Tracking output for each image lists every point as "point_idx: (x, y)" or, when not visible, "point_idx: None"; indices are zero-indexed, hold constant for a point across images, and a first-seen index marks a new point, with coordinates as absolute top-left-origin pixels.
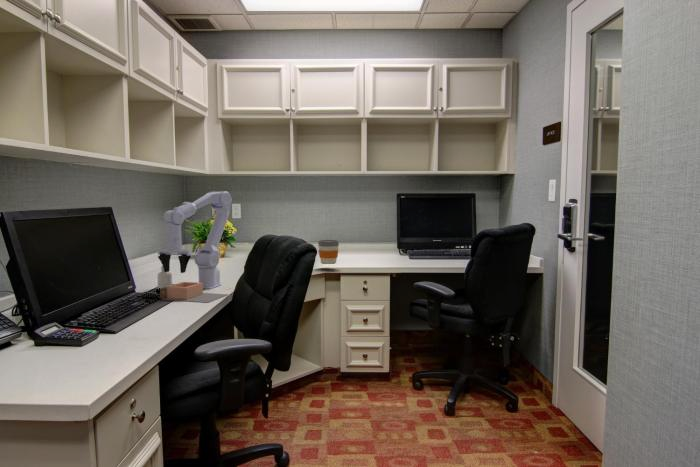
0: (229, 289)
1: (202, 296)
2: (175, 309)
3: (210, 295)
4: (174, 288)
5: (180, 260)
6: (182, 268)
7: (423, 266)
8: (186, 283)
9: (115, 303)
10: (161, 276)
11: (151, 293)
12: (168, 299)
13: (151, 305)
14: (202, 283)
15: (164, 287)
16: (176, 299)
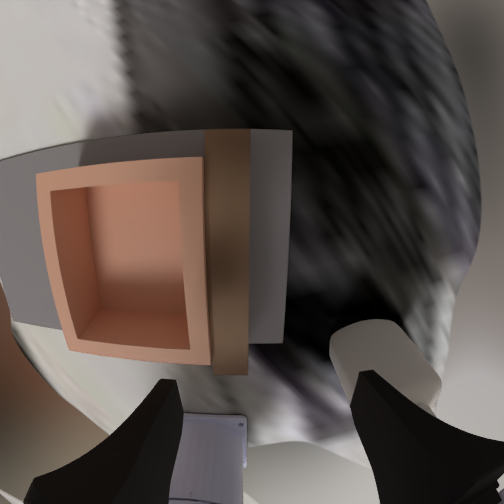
0: (85, 407)
1: None
2: (46, 21)
3: (45, 288)
4: (128, 161)
5: (102, 476)
6: (137, 407)
7: (16, 500)
8: (172, 344)
9: (410, 27)
10: (408, 372)
11: (400, 266)
12: (179, 132)
13: (192, 9)
14: (70, 345)
15: (243, 178)
16: (131, 149)
